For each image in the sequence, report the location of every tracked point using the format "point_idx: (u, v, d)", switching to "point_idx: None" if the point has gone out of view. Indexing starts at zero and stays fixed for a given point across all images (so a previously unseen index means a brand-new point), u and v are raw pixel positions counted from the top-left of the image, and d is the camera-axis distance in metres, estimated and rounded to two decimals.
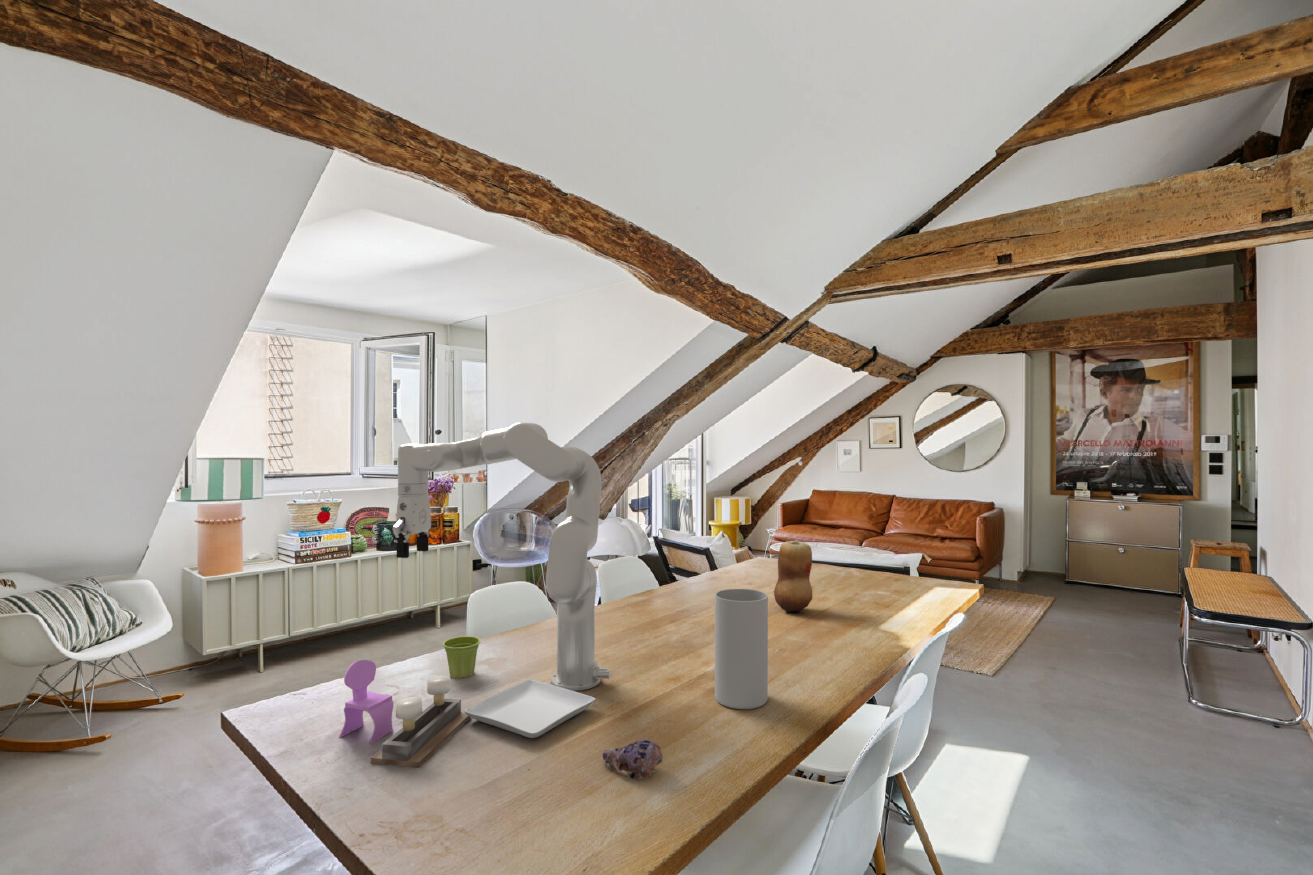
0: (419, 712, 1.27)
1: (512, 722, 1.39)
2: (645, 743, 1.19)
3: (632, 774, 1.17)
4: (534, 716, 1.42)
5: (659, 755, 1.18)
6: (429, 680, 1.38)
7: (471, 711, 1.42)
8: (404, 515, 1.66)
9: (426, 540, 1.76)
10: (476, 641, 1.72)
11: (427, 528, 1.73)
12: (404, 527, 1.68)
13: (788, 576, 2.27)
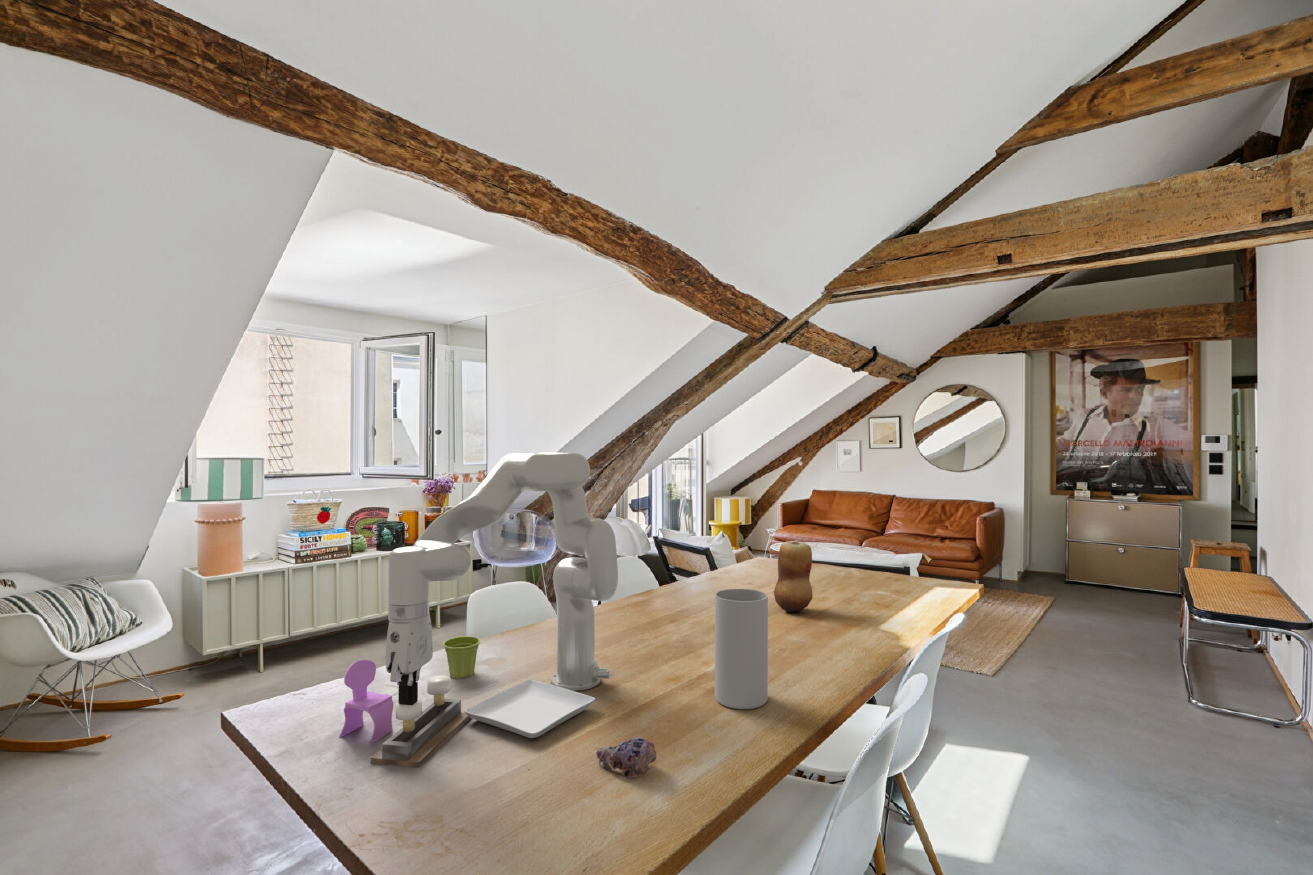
0: (419, 713, 1.27)
1: (512, 722, 1.39)
2: (639, 741, 1.20)
3: (626, 772, 1.17)
4: (534, 716, 1.42)
5: (653, 753, 1.19)
6: (429, 680, 1.38)
7: (471, 711, 1.42)
8: (396, 649, 1.22)
9: (415, 688, 1.27)
10: (476, 641, 1.72)
11: (427, 660, 1.29)
12: None
13: (788, 576, 2.27)
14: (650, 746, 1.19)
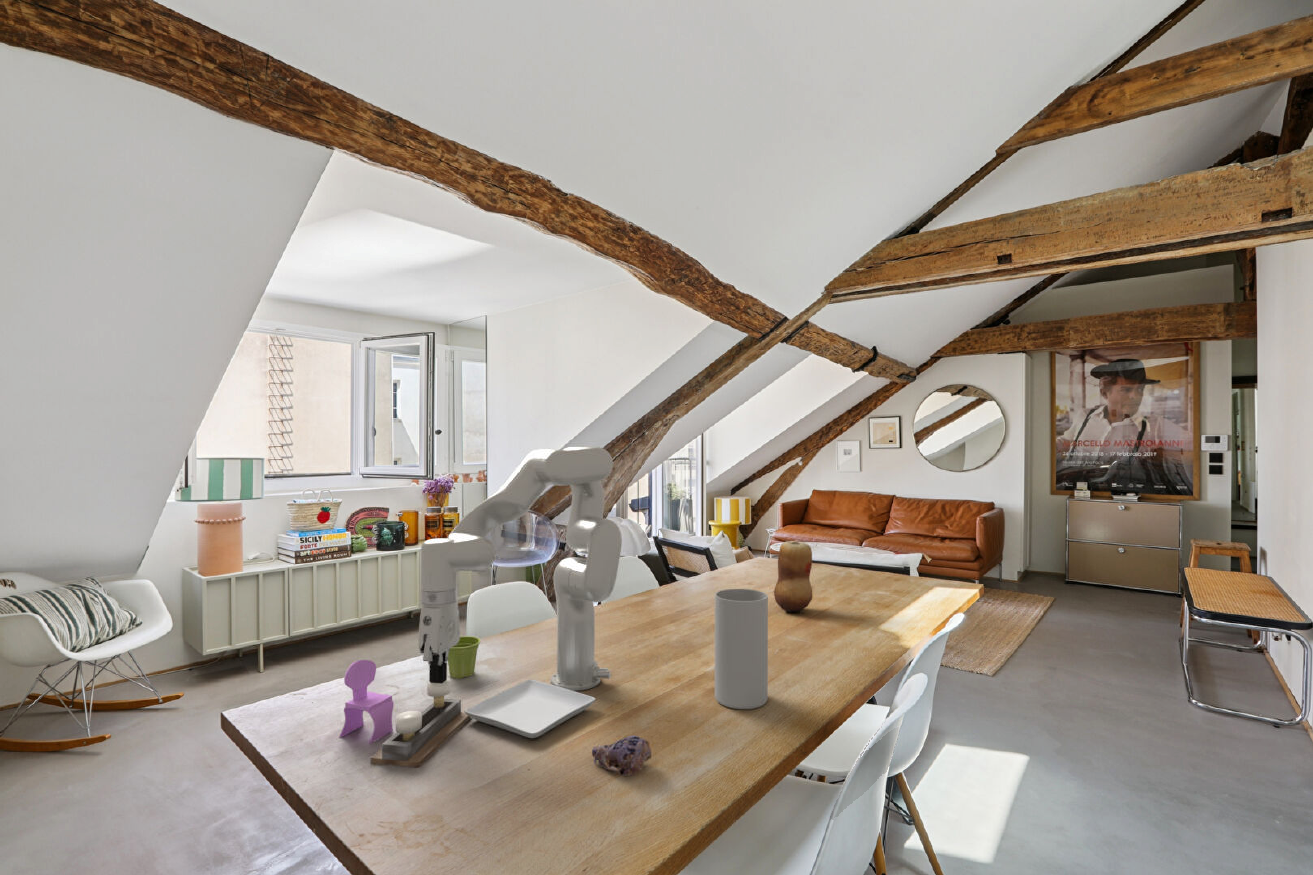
0: (419, 726, 1.27)
1: (512, 722, 1.39)
2: (635, 739, 1.20)
3: (622, 770, 1.18)
4: (534, 716, 1.42)
5: (648, 751, 1.19)
6: (429, 682, 1.38)
7: (471, 711, 1.42)
8: (429, 632, 1.34)
9: (444, 667, 1.39)
10: (476, 641, 1.72)
11: (455, 642, 1.41)
12: None
13: (788, 576, 2.27)
14: (645, 744, 1.20)
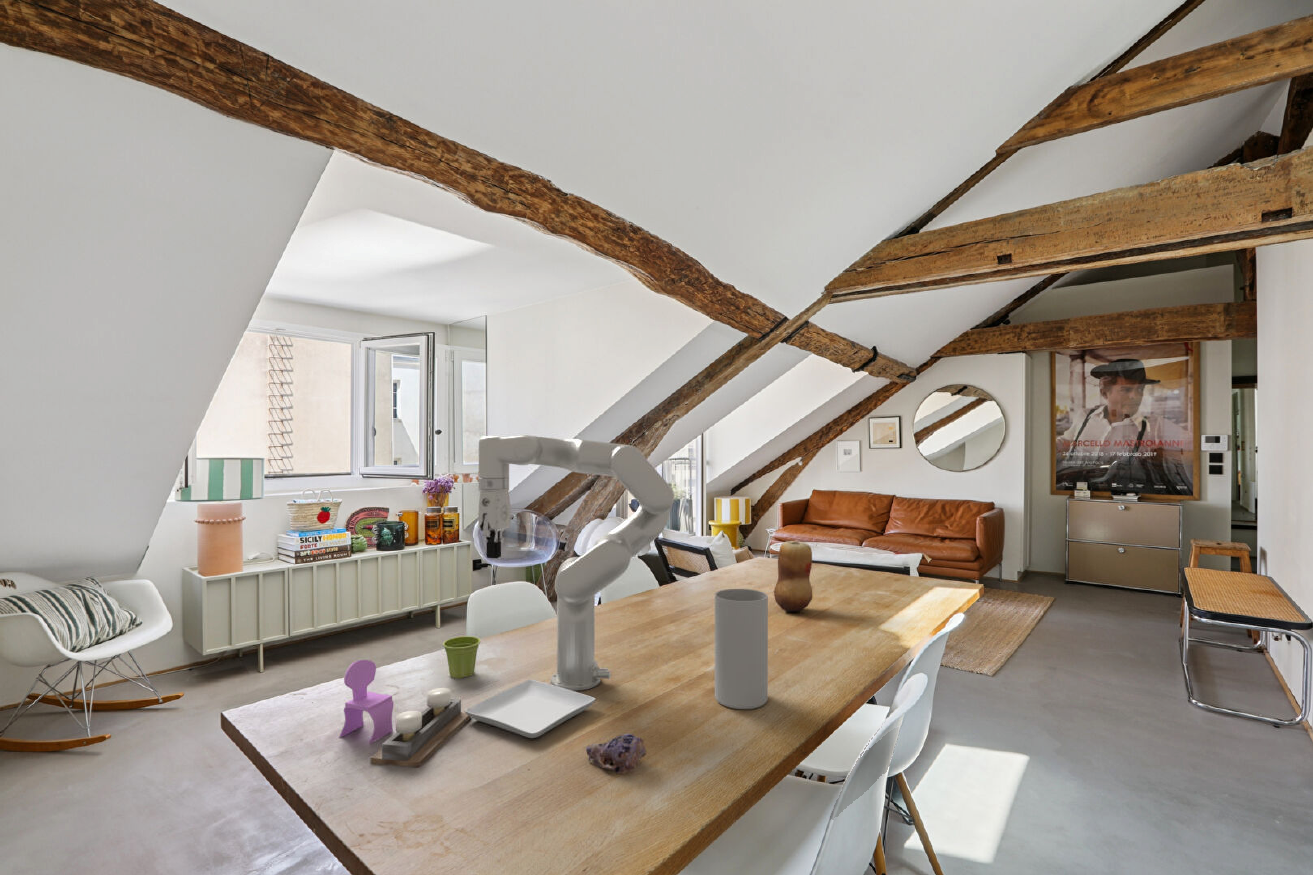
0: (419, 726, 1.27)
1: (512, 722, 1.39)
2: (629, 737, 1.21)
3: (616, 768, 1.19)
4: (535, 716, 1.42)
5: (643, 749, 1.20)
6: (429, 693, 1.38)
7: (471, 711, 1.42)
8: (487, 511, 1.57)
9: (499, 545, 1.62)
10: (476, 641, 1.72)
11: (508, 525, 1.64)
12: None
13: (788, 576, 2.27)
14: (640, 742, 1.20)
